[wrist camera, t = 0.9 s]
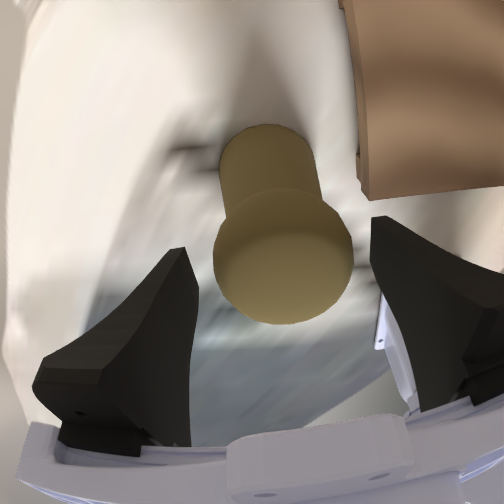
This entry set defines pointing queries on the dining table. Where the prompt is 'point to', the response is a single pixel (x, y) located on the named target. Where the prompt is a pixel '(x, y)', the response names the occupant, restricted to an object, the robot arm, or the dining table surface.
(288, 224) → the olive bulb-shaped piece
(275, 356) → the dining table surface
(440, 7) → the tan square board
